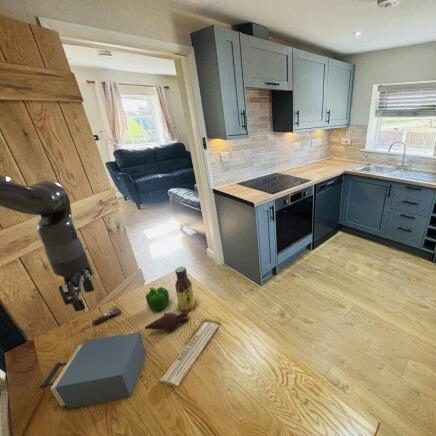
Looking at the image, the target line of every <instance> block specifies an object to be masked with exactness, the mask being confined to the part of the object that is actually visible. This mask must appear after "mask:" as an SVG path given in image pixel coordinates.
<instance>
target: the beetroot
mask: <svg viewBox="0 0 436 436" xmlns="http://www.w3.org/2000/svg"><path fill="white" fill-rule="evenodd" d="M188 315H189V312H182V311H181V312H180V313H179V314H176V313H175V312H167V313H166V312H165V313H164V314H163V316H161V317H160V318H157V319H156V320H154V321H153V322H151V323H149V324H147V325H146V326H145V327H144V330H158V331H159V330H160V331H165V332H166V333H168V331H169V332H170V331H173V330H175V328H177V326H179V325H180V324H184V323H187V322H189V318H188Z"/></svg>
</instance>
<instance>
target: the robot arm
mask: <svg viewBox="0 0 436 436" xmlns="http://www.w3.org/2000/svg"><path fill="white" fill-rule="evenodd" d="M0 207H1V208H4V209H7V210H9V211H13V212H17V213H20V214H24V215H30V216H39V219H38V222H37V224H36V232H37V234H38V237H39V239H40V241H41V244H42V247H43V249H44V253H45V256H46V258H47V261H48V262H49V265H50V267H51V269H52V272H53V273H54V275H56V276H60V277H63V283H64V284H62V285H59V286H58V291H59V292H60V295H61V298H62V300H63V303H64V305H65V306H68V305H72V308H73V310H74V312H82V311H84V310H85V309H86V305H85V302H84V300H83V298H82V292H83V291H84V292H85V293H91V292H94V291H95V286H94V284H93V281H92V280H93V277H92V276H93V275H94V272H93V269H92V267H91V264H90V261H89V258H88V255H87V252H86V250H85V248H84V244H83V242H82V241H81V238H80V237H79V235H78V232H77V230H76V229H77V228H76V226H75V224H74V222H73V215H72V208H71V207H72V205H71V201H70V197H69V194H68V192H67V191H66V189H65V188H64V187H63V186H62V185H61V184H59V183H57V182H55V181H52V180H40V181H38V182H35V183H33V184H31V185H25V184H20V183H17V182H14V181H13V180H12V179H11V178H10V177H9V176H6V175H3V174H0ZM76 288H77V289H76Z"/></svg>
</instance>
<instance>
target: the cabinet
mask: <svg viewBox="0 0 436 436" xmlns="http://www.w3.org/2000/svg"><path fill="white" fill-rule="evenodd" d="M82 344H83V345H82ZM82 344H81V345H82V347H81V348H80V350H79V351H78V353H77V354H76V356H75V357H74V359H73V360H72V362H71V363H70V365H69V367H68V368H67V370H66V371H65V373H64V374H63V376H62V377H61V379H60V380H59V382H58V383H57V385H56V387H55V388H56V390H57V392H58V393H59V395H60V397H61V398H62V400H63V402H64V403H65V407H66V408H67V410H70V409H76V408H80V407H85V406H90V405H95V404H100V403H104V402H110V401H113V400H114V401H115V400H118V399H119V400H120V399H123V398H128V397H131V395H132V393H133V390H134V387H135V384H136V381H137V379H138V375H139V373H140V370H141V367H142V365H143V362H144V360H145V357H146V354H147V350H146V347H145V343H144V340H143V338H142V335H141V332H140V331H135V332H131V333H130V332H129V333H124V334H118V335H117V334H116V335H111V336H104V337H98V338H92V339H85V341H84V342H83V343H82Z"/></svg>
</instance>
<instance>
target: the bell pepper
mask: <svg viewBox="0 0 436 436" xmlns="http://www.w3.org/2000/svg"><path fill="white" fill-rule="evenodd" d="M145 300H146V304H147V305H148V307H149V308H150V309H151V310H152V311H154V312H161V311H163V310H164V309H166V308H167V306H168V304H169V302H170V292H169V291H168V289H166V288H165V287H162V286H161V287H158V288H155V287H149V291H148V293H146V295H145Z"/></svg>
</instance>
